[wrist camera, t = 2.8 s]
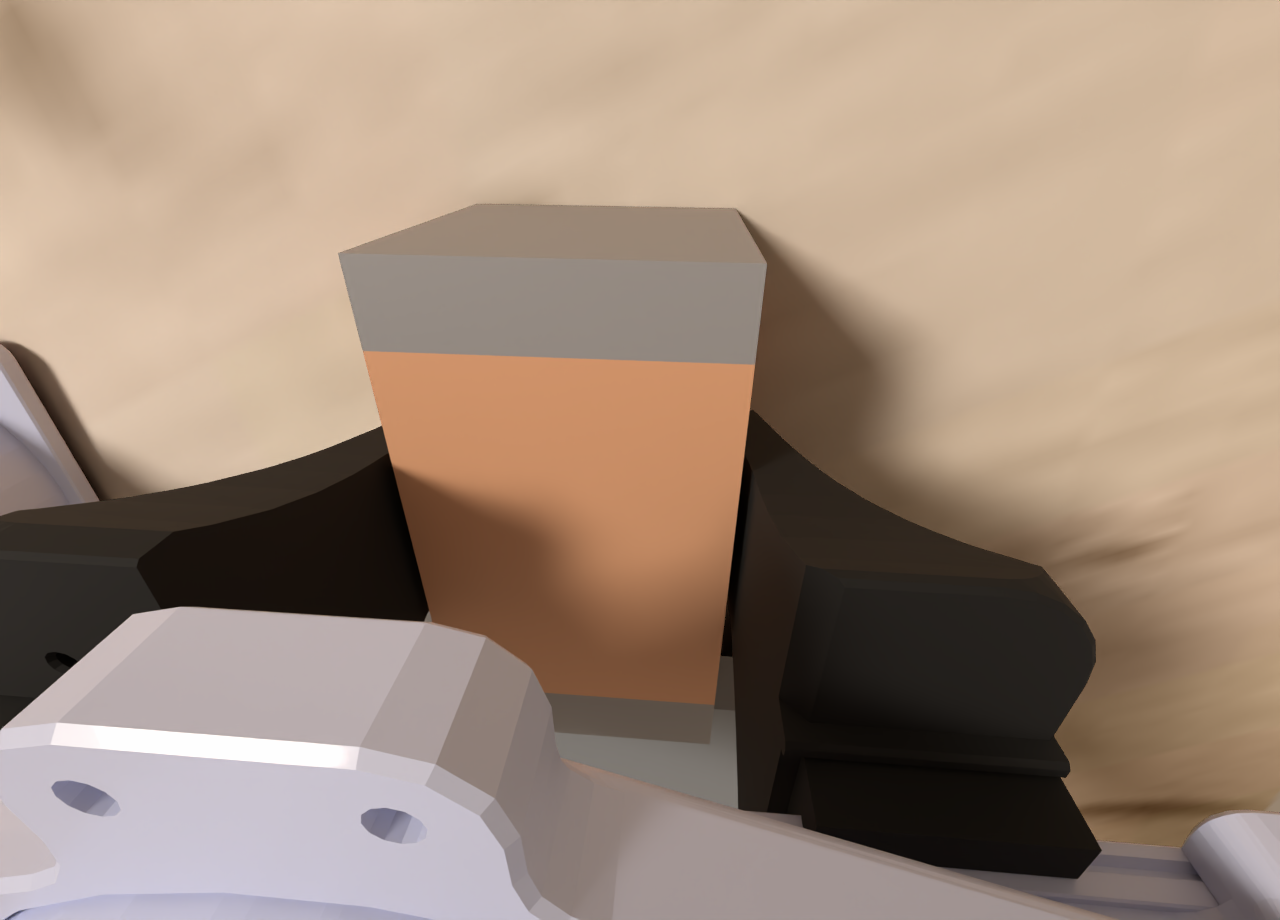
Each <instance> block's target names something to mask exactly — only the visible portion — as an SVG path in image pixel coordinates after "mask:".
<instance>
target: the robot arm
mask: <svg viewBox="0 0 1280 920" xmlns="http://www.w3.org/2000/svg"><path fill="white" fill-rule="evenodd" d="M727 604H728V610H729V617H730V626H731V635H732V652H733V673H734V696H735V722H736V751H737V784H738V809H736V808H732V807H729V806H725V805H722V804H719V803H715V802H712V801H708V800H705V799H701V798H698V797H694V796H691V795H688V794H684V793H681V792H677V791H674V790H670V789H667V788H663V787H660V786H656V785H653V784H650V783H646V782H643V781H639V780H636V779H632V778H629V777H625V776H622V775H619V774H615V773H612V772H608V771H605V770H601V769H598V768H594V767H591V766H587V765H584V764H581V763H577V762H574V761H570V760H567V759H563V758H560V755H559V752H558V749H557V746H556V740H555V732H554V723H553V714H552V707H551V705H550V703H549V701H548V699H547V697H546V695H545V693H544V691H543V689H542V687H541V685H540V683H539V681H538V679H537V678H536V676H535V674H534V672H533V670H532V669H531V668H530V667H529V666H528V665H527V664H526V663H525V662H523V661H522V660H520V659H519V658H517V657H516V656H515V655H513V654H512V653H510V652H509V651H507V650H506V649H504V648H503V647H501V646H500V645H498V644H497V643H496V642H494V641H493V640H491V639H490V638H488V637H487V636H485V635H481V634H477V633H473V632H469V631H465V630H461V629H457V628H453V627H449V626H445V625H441V624H437V623H433V622H424V621H425V618H426V616H427V614H428V612H429V607H428V603H427V599H426V596H425V592H424V588H423V584H422V580H421V576H420V572H419V568H418V564H417V560H416V556H415V553H414V549H413V545H412V541H411V537H410V533H409V529H408V525H407V521H406V517H405V513H404V510H403V506H402V502H401V498H400V494H399V490H398V486H397V482H396V478H395V474H394V470H393V467H392V463H391V459H390V455H389V451H388V447H387V443H386V439H385V435H384V431H383V427H382V426H380V427H378V428H376V429H374V430H371V431H369V432H366V433H364V434H361V435H359V436H357V437H354V438H352V439H349V440H347V441H344V442H342V443H339V444H337V445H334V446H332V447H329V448H327V449H324V450H321V451H319V452H316V453H313V454H310V455H307V456H304V457H301V458H298V459H295V460H291V461H288V462H285V463H282V464H279V465H275V466H272V467H269V468H265V469H261V470H257V471H253V472H249V473H245V474H241V475H237V476H233V477H229V478H225V479H221V480H217V481H213V482H209V483H204V484H199V485H194V486H189V487H184V488H179V489H174V490H169V491H163V492H157V493H151V494H145V495H139V496H133V497H127V498H120V499H113V500H106V501H99V499H98V497H97V496H96V494H95V492H94V490H93V489H92V487H91V485H90V484H89V482H88V480H87V479H86V477H85V475H84V474H83V472H82V470H81V468H80V467H79V465H78V463H77V462H76V460H75V458H74V457H73V455H72V453H71V452H70V450H69V448H68V447H67V445H66V443H65V441H64V440H63V438H62V436H61V435H60V433H59V431H58V430H57V428H56V426H55V425H54V423H53V421H52V419H51V418H50V416H49V414H48V413H47V411H46V409H45V408H44V406H43V404H42V403H41V401H40V399H39V397H38V396H37V394H36V392H35V391H34V389H33V387H32V386H31V384H30V382H29V381H28V379H27V377H26V375H25V374H24V372H23V370H22V369H21V367H20V365H19V364H18V362H17V360H16V359H15V357H14V356H13V355H12V353H11V352H10V351H9V350H8V349H6V348H5V347H4V346H3V345H1V344H0V920H1280V812H1270V811H1257V810H1229V811H1225V812H1221V813H1218V814H1214V815H1211V816H1209V817H1208V818H1206V819H1205V820H1203V821H1201V822H1200V823H1199V824H1198V825H1197V826H1196V827H1195V828H1194V829H1193V830H1192V831H1191V832H1190V834H1189V835H1188V837H1187V838H1186V840H1185V841H1184V844H1183V846H1182V847H1171V846H1159V845H1147V844H1135V843H1123V842H1111V841H1099V840H1096V839H1095V837H1094V835H1093V834H1092V832H1091V830H1090V828H1089V827H1088V825H1087V823H1086V821H1085V820H1084V818H1083V816H1082V814H1081V813H1080V811H1079V809H1078V807H1077V806H1076V804H1075V802H1074V800H1073V799H1072V797H1071V795H1070V793H1069V792H1068V790H1067V788H1066V786H1065V785H1064V783H1063V781H1062V779H1061V778H1060V777H1064V778H1066V777H1067V775H1068V774H1069V772H1070V764H1069V761H1068V759H1067V757H1066V756H1065V754H1064V752H1063V751H1062V749H1061V747H1060V746H1059V744H1058V742H1057V741H1056V739H1055V737H1054V734H1055V733H1056V731H1057V730H1058V728H1059V726H1060V725H1061V723H1062V722H1063V720H1064V719H1065V717H1066V715H1067V714H1068V712H1069V711H1070V709H1071V708H1072V706H1073V704H1074V703H1075V701H1076V700H1077V698H1078V696H1079V695H1080V693H1081V692H1082V690H1083V689H1084V687H1085V685H1086V683H1087V681H1088V679H1089V677H1090V674H1091V672H1092V669H1093V667H1094V665H1095V662H1096V644H1095V639H1094V637H1093V635H1092V633H1091V631H1090V629H1089V627H1088V625H1087V623H1086V621H1085V620H1084V618H1083V617H1082V616H1081V615H1080V613H1079V612H1078V611H1077V610H1076V608H1075V607H1074V606H1073V605H1072V603H1071V602H1070V601H1069V600H1068V598H1067V597H1066V596H1065V595H1064V594H1063V592H1062V591H1061V590H1060V589H1059V587H1058V586H1057V585H1056V584H1055V582H1054V581H1053V580H1052V579H1051V577H1050V576H1049V575H1048V574H1047V573H1046V571H1045V570H1044V569H1043V568H1042V567H1040V566H1037V565H1034V564H1030V563H1027V562H1024V561H1020V560H1017V559H1014V558H1010V557H1007V556H1004V555H1001V554H997V553H994V552H991V551H987V550H984V549H981V548H977V547H974V546H971V545H968V544H965V543H962V542H960V541H957V540H954V539H952V538H949V537H947V536H944V535H941V534H939V533H936V532H933V531H931V530H928V529H926V528H924V527H921V526H919V525H917V524H914V523H912V522H910V521H907V520H905V519H903V518H901V517H899V516H897V515H895V514H893V513H891V512H889V511H887V510H885V509H883V508H881V507H879V506H877V505H875V504H873V503H871V502H869V501H867V500H865V499H864V498H862V497H860V496H859V495H857V494H855V493H854V492H852V491H850V490H849V489H847V488H846V487H844V486H842V485H841V484H839V483H838V482H836V481H835V480H833V479H832V478H830V477H829V476H827V475H826V474H825V473H823V472H822V471H821V470H819V469H818V468H817V467H815V466H814V465H813V464H812V463H810V462H809V461H808V460H806V459H805V458H804V457H803V456H802V455H800V454H799V453H798V452H797V451H796V450H795V449H793V448H792V447H791V446H790V445H789V444H788V443H787V442H786V441H785V440H783V439H782V438H781V437H780V436H779V435H778V434H777V433H776V432H775V431H774V430H773V429H772V428H771V427H770V426H769V425H768V424H767V423H766V422H765V421H764V420H763V419H762V418H761V417H760V416H759V415H758V414H757V413H756V412H754V411H753V410H750V411H749V420H748V428H747V436H746V445H745V453H744V461H743V470H742V478H741V487H740V495H739V503H738V512H737V520H736V528H735V537H734V545H733V553H732V562H731V570H730V579H729V587H728V595H727Z"/></svg>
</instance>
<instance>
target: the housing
mask: <svg viewBox="0 0 1280 920" xmlns="http://www.w3.org/2000/svg"><path fill="white" fill-rule="evenodd" d="M338 255H339V259H340V263H341V267H342V271H343V275H344V279H345V283H346V287H347V291H348V294H349V298H350V302H351V306H352V310H353V314H354V318H355V322H356V326H357V330H358V334H359V337H360V341H361V345H362V349H363V353H364V357H365V361H366V365H367V369H368V373H369V377H370V381H371V384H372V388H373V392H374V396H375V400H376V404H377V408H378V412H379V416H380V420H381V424H382V427H383V431H384V435H385V439H386V443H387V447H388V451H389V455H390V459H391V463H392V467H393V470H394V474H395V478H396V482H397V486H398V490H399V494H400V498H401V502H402V506H403V510H404V513H405V517H406V521H407V525H408V529H409V533H410V537H411V541H412V545H413V549H414V553H415V556H416V560H417V564H418V568H419V572H420V576H421V580H422V584H423V588H424V592H425V596H426V599H427V603H428V607H429V611H430V615H431V619H432V622H433V623H437V624H441V625H445V626H449V627H453V628H457V629H461V630H465V631H469V632H473V633H477V634H481V635H485V636H487V637H488V638H490V639H491V640H493V641H494V642H496V643H497V644H498V645H500V646H501V647H503V648H504V649H506V650H507V651H509V652H510V653H512V654H513V655H515V656H516V657H517V658H519V659H520V660H522V661H523V662H525V663H526V664H527V665H528V666H529V667H530V668H531V669H532V670H533V672H534V674H535V676H536V678H537V679H538V681H539V683H540V685H541V687H542V689H543V691H544V693H545V695H546V697H547V699H548V701H549V703H550V705H551V707H552V714H553V723H554V732H557V733H570V734H583V735H596V736H609V737H622V738H635V739H648V740H661V741H674V742H687V743H700V744H710V738H711V729H712V721H713V712H714V704H715V696H716V687H717V679H718V671H719V662H720V654H721V645H722V637H723V629H724V620H725V612H726V604H727V595H728V587H729V579H730V570H731V562H732V553H733V545H734V537H735V528H736V520H737V512H738V503H739V495H740V487H741V478H742V470H743V461H744V453H745V445H746V436H747V428H748V420H749V411H750V403H751V395H752V386H753V378H754V369H755V361H756V353H757V344H758V336H759V328H760V319H761V311H762V302H763V294H764V286H765V277H766V269H767V262H766V261H765V259H764V257H763V255H762V254H761V252H760V250H759V248H758V247H757V245H756V243H755V241H754V240H753V238H752V236H751V234H750V233H749V231H748V229H747V227H746V226H745V224H744V222H743V220H742V219H741V217H740V215H739V213H738V212H737V210H736V209H732V208H676V207H621V206H565V205H509V204H475V205H472V206H469V207H467V208H464V209H461V210H458V211H455V212H453V213H450V214H447V215H444V216H441V217H438V218H436V219H433V220H430V221H427V222H424V223H422V224H419V225H416V226H413V227H410V228H408V229H405V230H402V231H399V232H396V233H394V234H391V235H388V236H385V237H382V238H379V239H377V240H374V241H371V242H368V243H365V244H363V245H360V246H357V247H354V248H351V249H349V250H346V251H343V252H340V253H338Z"/></svg>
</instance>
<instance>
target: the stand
mask: <svg viewBox="0 0 1280 920" xmlns="http://www.w3.org/2000/svg"><path fill="white" fill-rule="evenodd" d="M424 622H432V619H431V615H430V611H429V612H428V614H427V616H426V618H425V621H424ZM555 740H556V746H557V749H558V752H559V755H560V758H563V759H567V760H570V761H574V762H577V763H581V764H584V765H587V766H591V767H594V768H598V769H601V770H605V771H608V772H612V773H615V774H619V775H622V776H625V777H629V778H632V779H636V780H639V781H643V782H646V783H650V784H653V785H656V786H660V787H663V788H667V789H670V790H674V791H677V792H681V793H684V794H688V795H691V796H694V797H698V798H701V799H705V800H708V801H712V802H715V803H719V804H722V805H725V806H729V807H732V808H736V809H738V784H737V751H736V722H735V696H734V673H733V657H726V656H720V662H719V671H718V679H717V687H716V696H715V704H714V712H713V721H712V729H711V738H710V744H700V743H687V742H674V741H661V740H648V739H635V738H622V737H609V736H596V735H583V734H570V733H557V732H555Z"/></svg>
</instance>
